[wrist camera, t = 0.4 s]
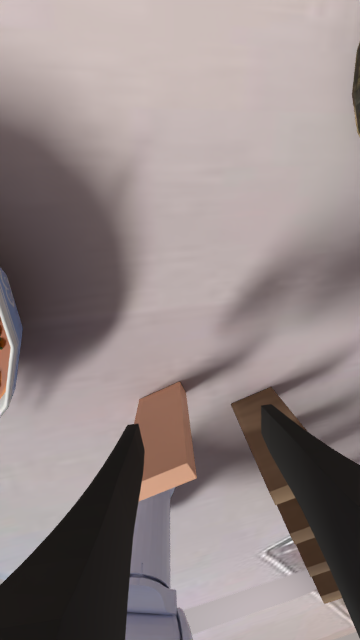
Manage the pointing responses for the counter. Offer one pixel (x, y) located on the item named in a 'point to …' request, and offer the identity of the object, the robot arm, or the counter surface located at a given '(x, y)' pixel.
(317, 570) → the domino
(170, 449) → the orange tan rectangular block
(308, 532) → the domino
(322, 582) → the domino
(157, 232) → the counter surface
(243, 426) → the domino
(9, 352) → the ramen bowl
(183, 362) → the counter surface
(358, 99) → the wooden tree slice
